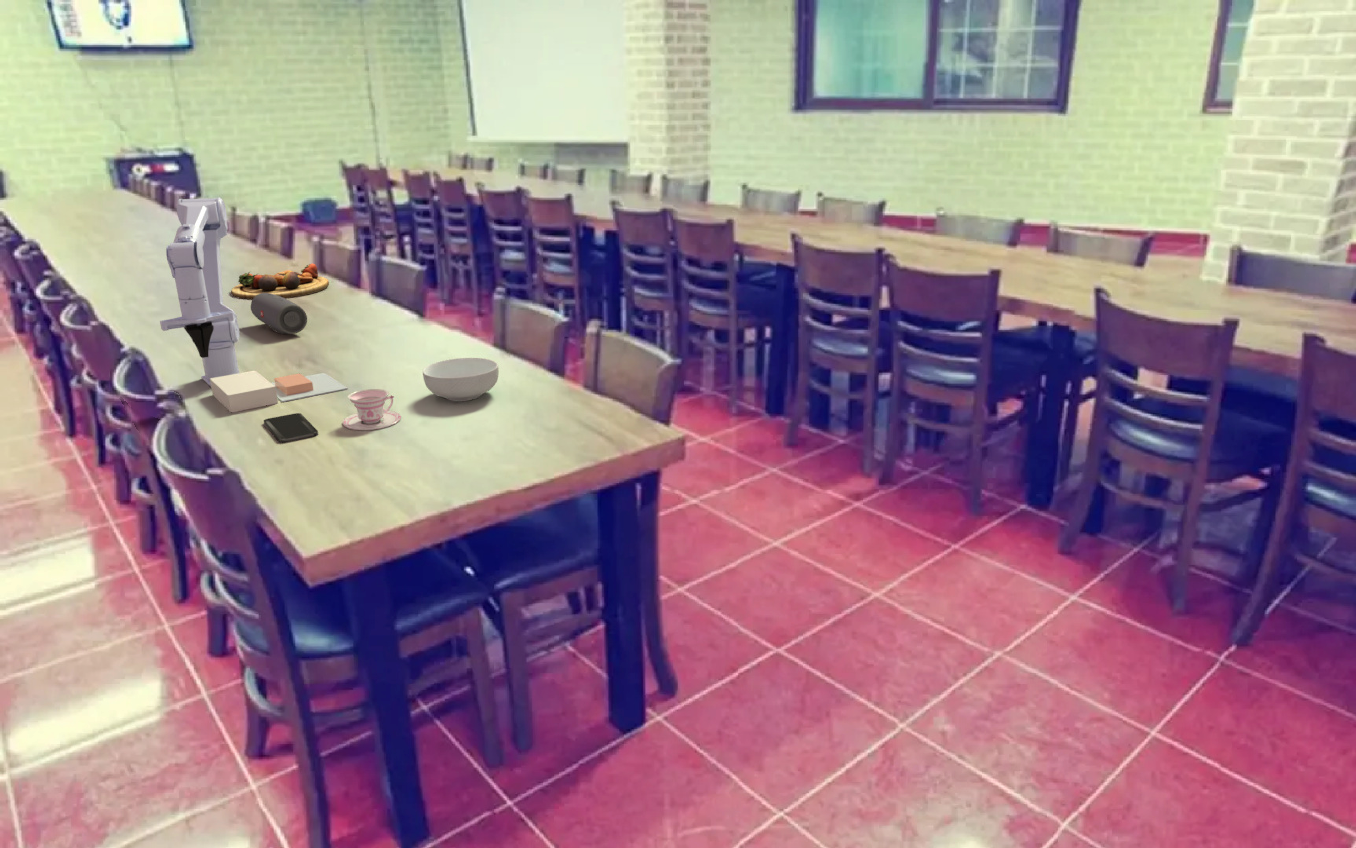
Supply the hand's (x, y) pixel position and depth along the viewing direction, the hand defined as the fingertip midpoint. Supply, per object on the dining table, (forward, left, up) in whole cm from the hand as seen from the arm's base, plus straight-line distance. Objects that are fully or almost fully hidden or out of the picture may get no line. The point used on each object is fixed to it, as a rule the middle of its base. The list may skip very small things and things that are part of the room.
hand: (204, 356), depth 210 cm
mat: (+4, +20, -10) cm, 23 cm away
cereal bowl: (+34, +46, -11) cm, 58 cm away
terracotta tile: (+4, +17, -8) cm, 19 cm away
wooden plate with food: (-115, +50, -11) cm, 126 cm away
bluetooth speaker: (-56, +32, -11) cm, 66 cm away
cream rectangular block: (+4, +6, -10) cm, 13 cm away
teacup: (+37, +23, -11) cm, 45 cm away
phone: (+31, +8, -11) cm, 34 cm away
